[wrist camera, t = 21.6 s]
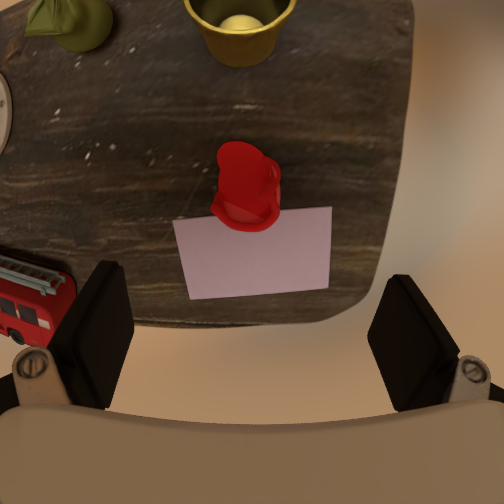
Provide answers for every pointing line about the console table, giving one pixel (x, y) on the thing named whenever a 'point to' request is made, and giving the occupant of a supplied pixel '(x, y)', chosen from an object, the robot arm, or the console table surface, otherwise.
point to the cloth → (256, 254)
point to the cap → (246, 188)
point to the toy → (32, 301)
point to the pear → (71, 22)
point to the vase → (240, 27)
